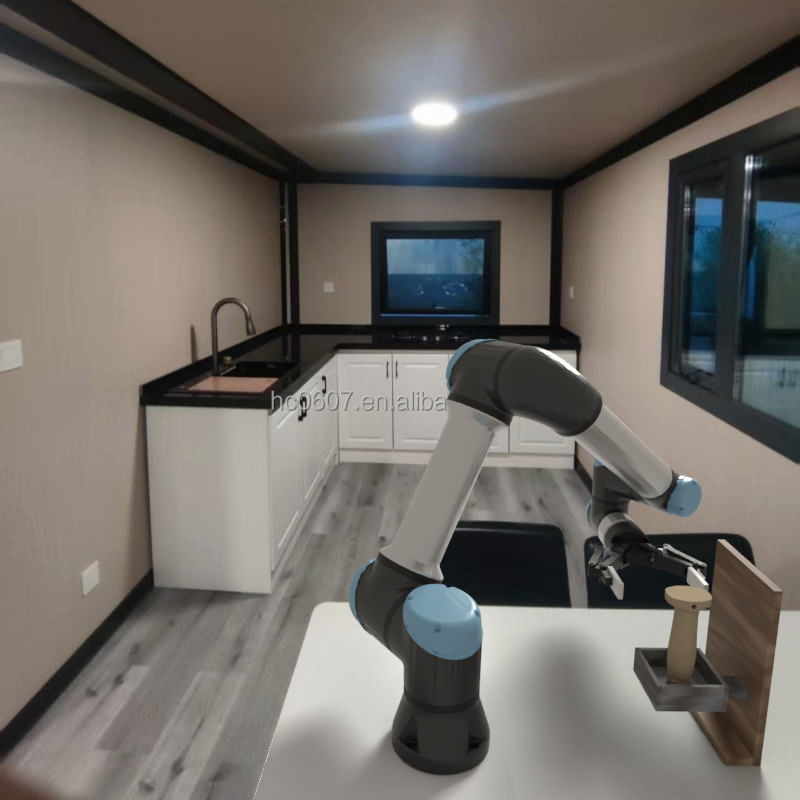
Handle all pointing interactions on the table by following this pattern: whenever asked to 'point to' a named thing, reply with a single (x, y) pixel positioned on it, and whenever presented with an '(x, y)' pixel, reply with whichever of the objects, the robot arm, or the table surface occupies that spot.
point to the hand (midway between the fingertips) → (663, 592)
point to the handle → (684, 630)
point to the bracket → (726, 662)
